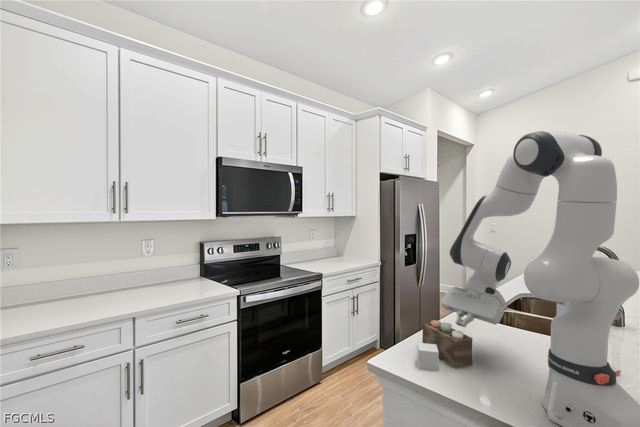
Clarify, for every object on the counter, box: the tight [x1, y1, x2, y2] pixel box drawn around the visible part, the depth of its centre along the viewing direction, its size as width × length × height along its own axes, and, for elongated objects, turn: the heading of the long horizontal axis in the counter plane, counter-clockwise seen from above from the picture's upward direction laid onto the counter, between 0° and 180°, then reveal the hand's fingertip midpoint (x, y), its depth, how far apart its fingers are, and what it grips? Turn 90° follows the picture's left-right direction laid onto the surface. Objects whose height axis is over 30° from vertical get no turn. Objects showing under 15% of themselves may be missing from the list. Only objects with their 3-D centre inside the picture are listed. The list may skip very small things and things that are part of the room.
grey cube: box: [416, 342, 440, 372], centre depth 103 cm, size 6×6×6 cm
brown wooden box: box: [422, 322, 473, 370], centre depth 110 cm, size 16×7×9 cm, turn 20°
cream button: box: [452, 330, 464, 340], centre depth 105 cm, size 3×3×2 cm
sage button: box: [441, 322, 453, 333], centre depth 109 cm, size 3×3×2 cm
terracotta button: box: [430, 319, 442, 328], centre depth 114 cm, size 3×3×2 cm
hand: (460, 325), depth 105 cm, fingers closed
